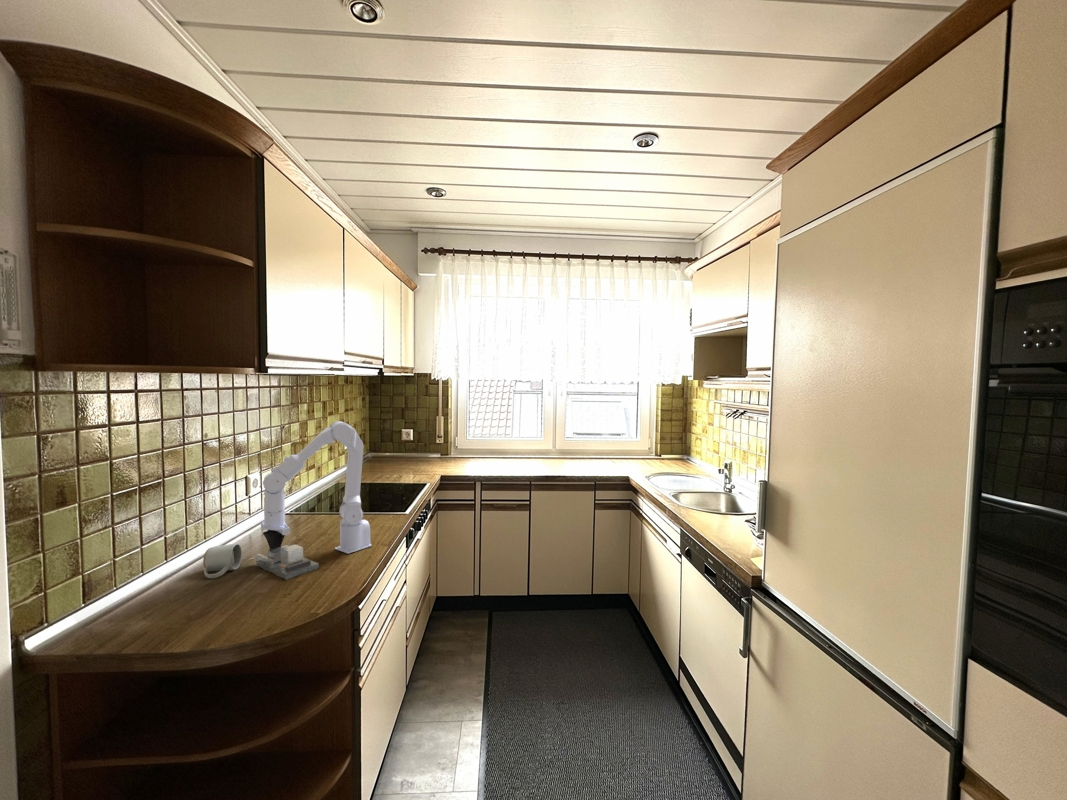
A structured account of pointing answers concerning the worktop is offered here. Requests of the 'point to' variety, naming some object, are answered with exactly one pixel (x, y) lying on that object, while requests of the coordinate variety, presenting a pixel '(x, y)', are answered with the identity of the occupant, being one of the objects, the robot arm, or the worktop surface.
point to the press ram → (275, 553)
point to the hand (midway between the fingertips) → (275, 552)
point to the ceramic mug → (222, 559)
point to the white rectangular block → (291, 555)
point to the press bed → (288, 570)
